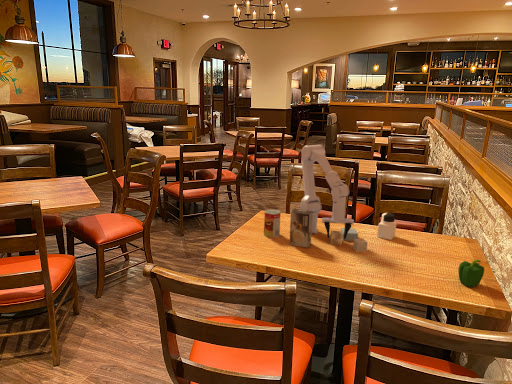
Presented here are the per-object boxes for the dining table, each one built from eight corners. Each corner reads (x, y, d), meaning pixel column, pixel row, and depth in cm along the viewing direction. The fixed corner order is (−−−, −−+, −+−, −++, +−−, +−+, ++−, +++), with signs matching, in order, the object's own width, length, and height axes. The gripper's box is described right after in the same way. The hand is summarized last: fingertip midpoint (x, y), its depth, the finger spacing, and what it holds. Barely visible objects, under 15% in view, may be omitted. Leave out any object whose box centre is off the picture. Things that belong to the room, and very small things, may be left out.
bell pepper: (457, 286, 138) (462, 262, 135) (455, 277, 145) (459, 253, 143) (483, 291, 135) (488, 266, 133) (479, 281, 143) (484, 257, 140)
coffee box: (311, 243, 175) (313, 210, 171) (308, 248, 170) (310, 214, 166) (292, 240, 179) (294, 208, 175) (288, 244, 173) (290, 211, 169)
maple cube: (331, 244, 175) (331, 234, 174) (330, 240, 180) (330, 230, 179) (341, 244, 175) (342, 234, 173) (340, 240, 180) (341, 231, 178)
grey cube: (357, 251, 167) (358, 242, 166) (352, 247, 171) (353, 238, 170) (366, 251, 168) (367, 242, 167) (362, 247, 172) (363, 238, 171)
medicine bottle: (394, 236, 188) (397, 213, 185) (391, 240, 182) (394, 217, 179) (380, 233, 191) (383, 210, 188) (376, 237, 185) (379, 214, 182)
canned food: (269, 230, 190) (270, 208, 187) (282, 234, 186) (283, 211, 183) (260, 234, 184) (261, 211, 181) (273, 238, 180) (274, 215, 177)
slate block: (342, 240, 180) (343, 232, 179) (340, 235, 187) (341, 228, 186) (357, 241, 180) (358, 233, 179) (354, 236, 187) (355, 228, 186)
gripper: (323, 211, 170) (321, 239, 173) (355, 213, 169) (353, 241, 172) (322, 207, 177) (320, 234, 180) (353, 209, 176) (351, 236, 179)
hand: (336, 237), depth 177 cm, fingers open, 7 cm apart
